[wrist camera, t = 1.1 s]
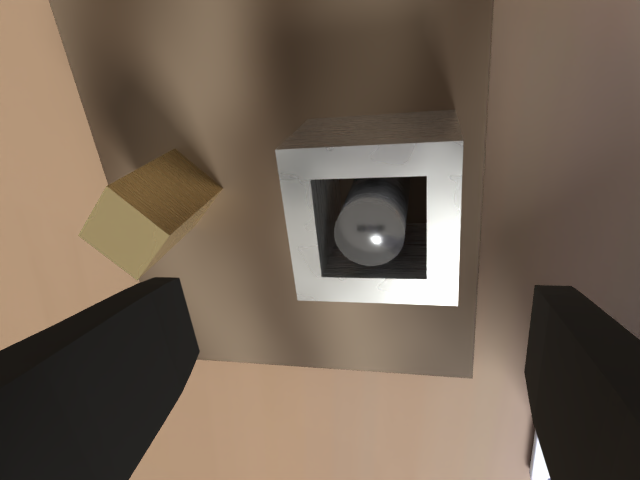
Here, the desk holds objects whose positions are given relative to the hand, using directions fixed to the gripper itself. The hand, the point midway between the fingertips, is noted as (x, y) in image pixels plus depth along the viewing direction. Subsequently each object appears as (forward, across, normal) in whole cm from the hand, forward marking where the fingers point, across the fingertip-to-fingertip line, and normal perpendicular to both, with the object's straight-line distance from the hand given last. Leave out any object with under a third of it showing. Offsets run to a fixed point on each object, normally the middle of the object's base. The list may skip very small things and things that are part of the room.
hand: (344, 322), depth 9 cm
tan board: (+9, +4, 0) cm, 10 cm away
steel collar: (+8, 0, 0) cm, 8 cm away
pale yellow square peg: (+8, +8, 0) cm, 12 cm away
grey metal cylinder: (+8, 0, 0) cm, 8 cm away
